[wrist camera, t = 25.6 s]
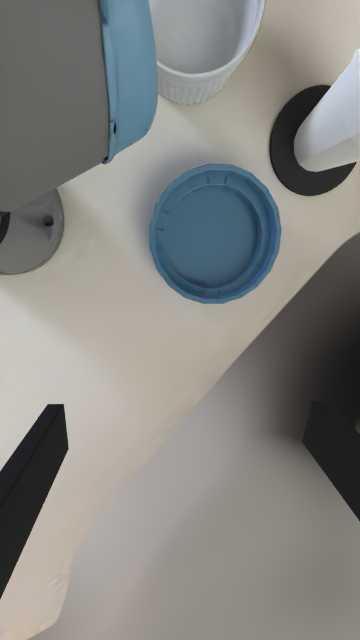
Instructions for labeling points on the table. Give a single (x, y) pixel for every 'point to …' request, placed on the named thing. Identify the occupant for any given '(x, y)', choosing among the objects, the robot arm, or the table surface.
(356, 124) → the foam cup
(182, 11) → the ramekin
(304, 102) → the mat
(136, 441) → the table surface
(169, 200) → the bowl
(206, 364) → the table surface
